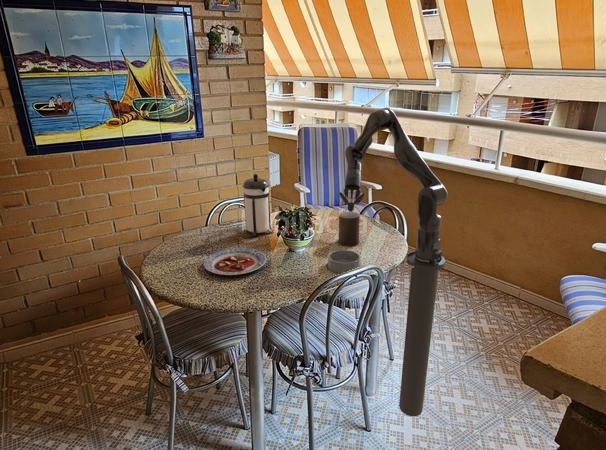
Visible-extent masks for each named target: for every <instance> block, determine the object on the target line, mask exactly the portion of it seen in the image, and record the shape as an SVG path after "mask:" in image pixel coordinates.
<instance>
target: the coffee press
mask: <svg viewBox="0 0 606 450" xmlns="http://www.w3.org/2000/svg"><path fill="white" fill-rule="evenodd" d="M242 188H243V207H244V217H245V218H244V219H245V228H244V229H243V231H244V232H245V233H247V232H249V233H252V235H253V238H257V236H258V234H262V233H265V232H269V233H270V234H272V233H273V232H274V230H273V228H272V226H271V205H270V204H271V203H270V190H269V188H270V183H269V181H268V180H267V179H265V178H262V177H259V175H258V174H257V173H254V174H253V176H252V177H251V178H247V179H246V180H244V182H243V184H242Z"/></svg>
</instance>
